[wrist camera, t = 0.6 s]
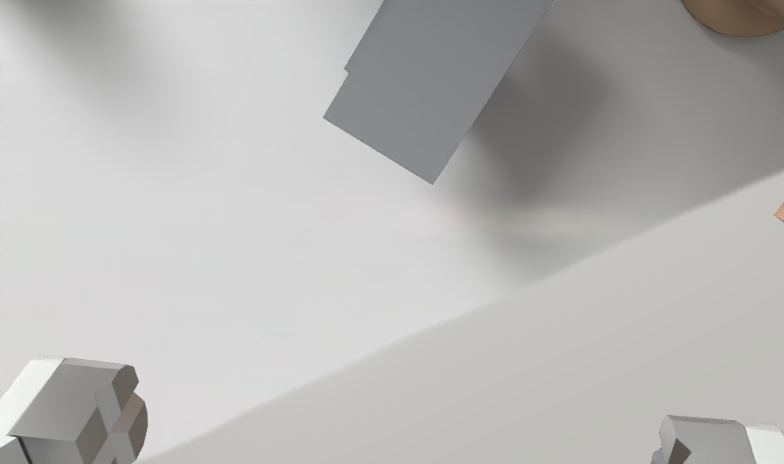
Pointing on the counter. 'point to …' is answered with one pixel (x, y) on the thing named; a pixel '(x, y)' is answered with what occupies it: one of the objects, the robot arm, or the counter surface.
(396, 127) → the low stand
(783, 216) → the block
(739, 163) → the counter surface
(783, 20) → the walnut pedestal
